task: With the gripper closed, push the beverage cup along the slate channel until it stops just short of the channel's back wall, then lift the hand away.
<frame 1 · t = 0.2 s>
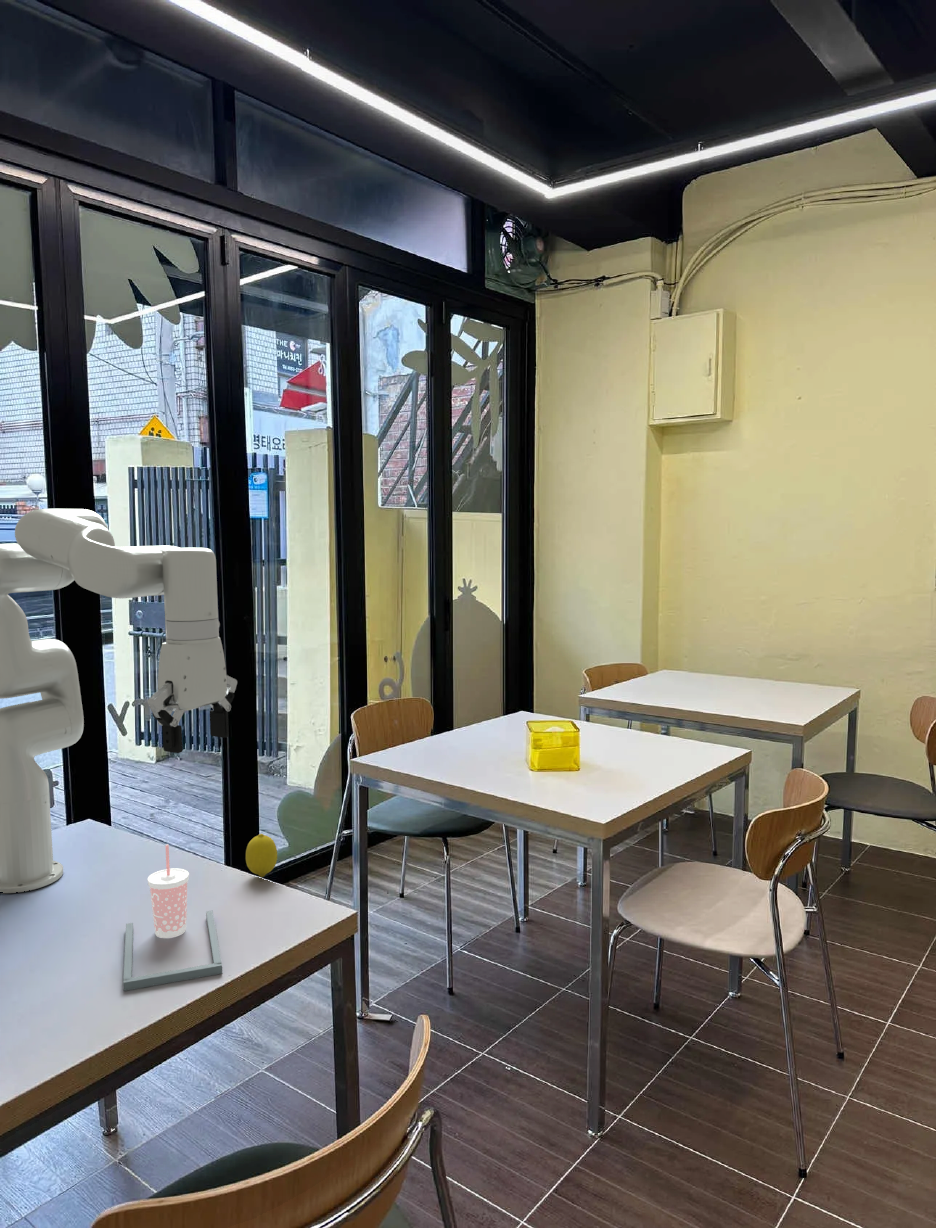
hand: (197, 743, 130), 30 cm above the table, tool pointing down, fingers open, 9 cm apart
slate channel: (172, 961, 126), on the table
lemon: (262, 877, 155), on the table
beverage cup: (170, 932, 135), on the table
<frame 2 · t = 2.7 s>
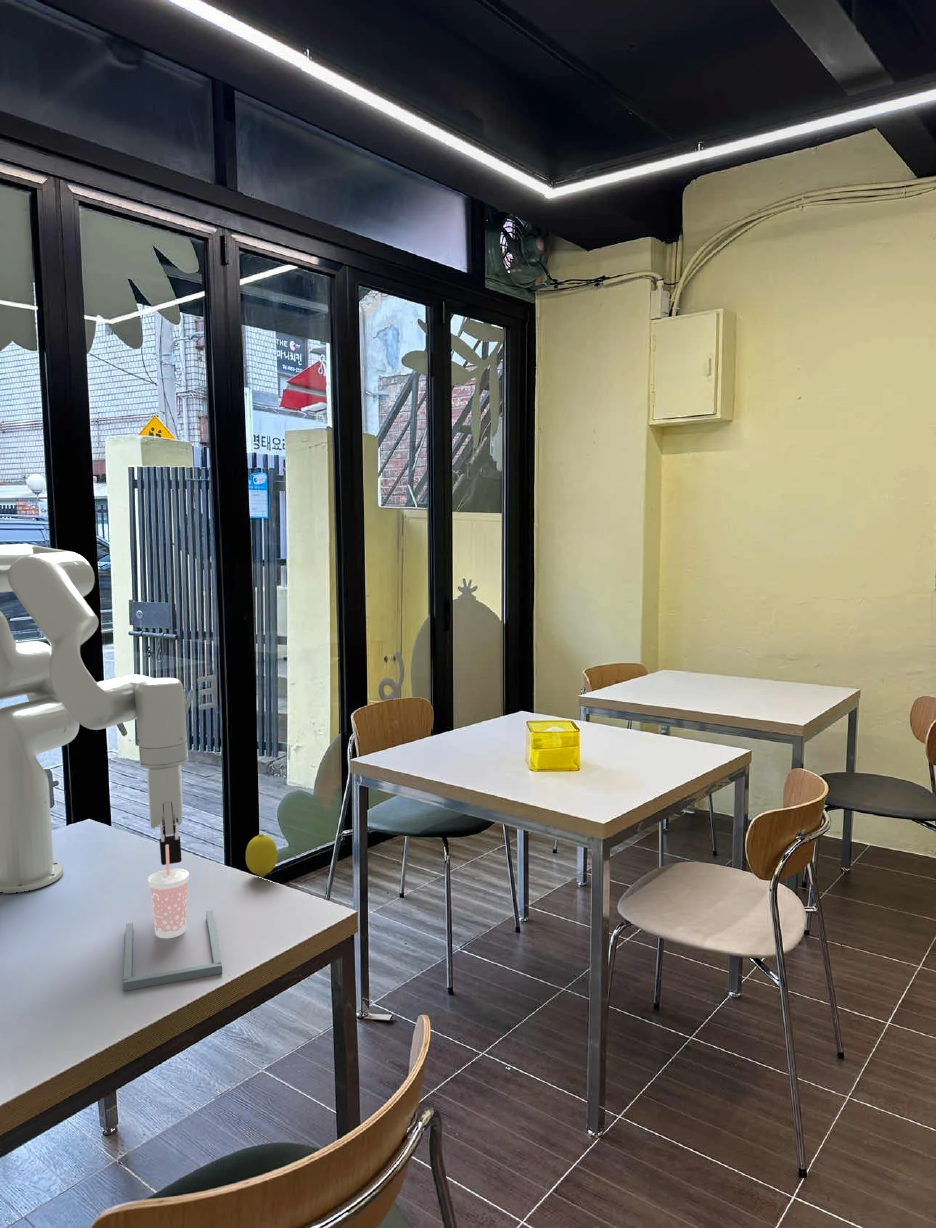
hand: (171, 861, 143), 8 cm above the table, tool pointing down, fingers closed
nothing on the table moved.
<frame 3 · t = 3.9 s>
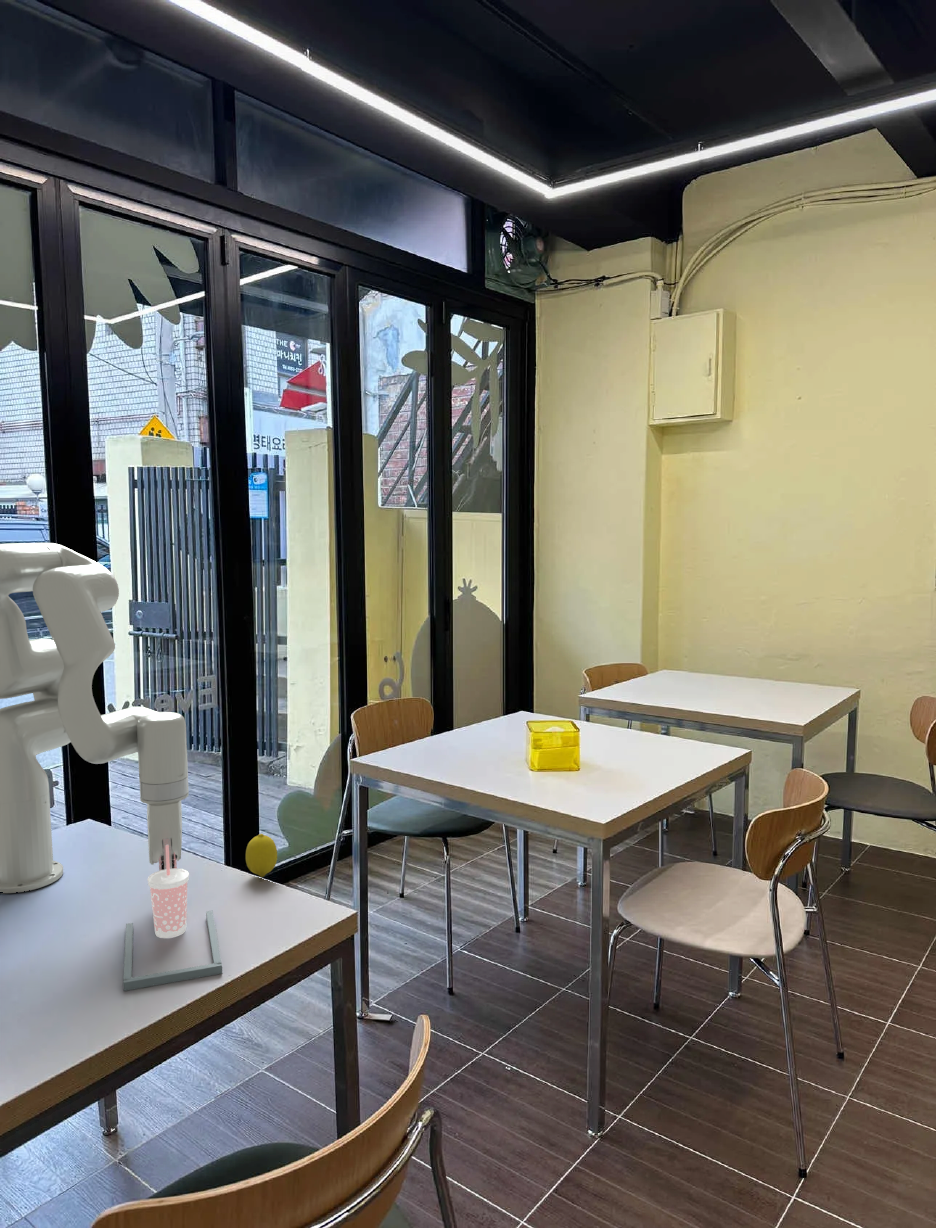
hand: (169, 895, 143), 2 cm above the table, tool pointing down, fingers closed
nothing on the table moved.
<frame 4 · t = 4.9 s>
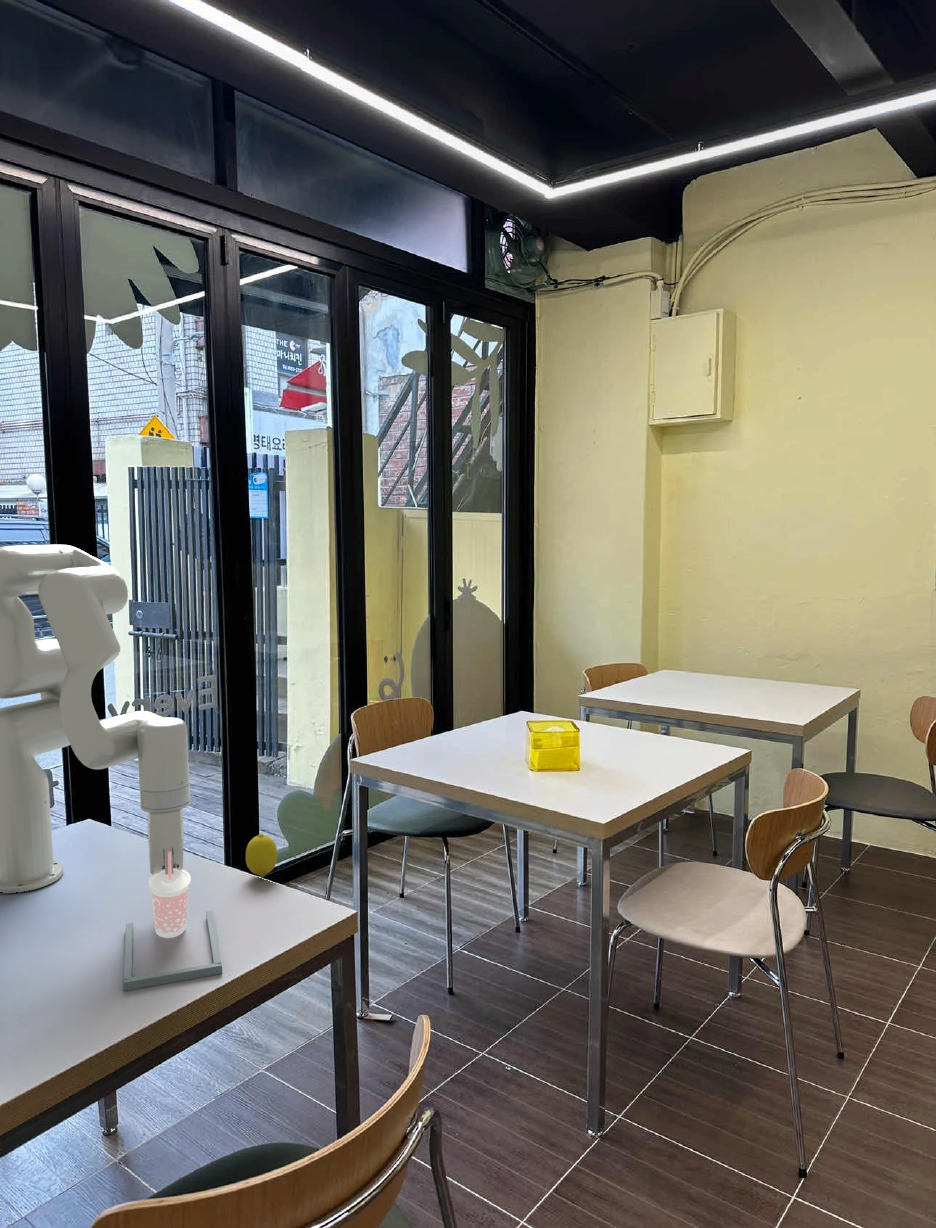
hand: (170, 906, 139), 2 cm above the table, tool pointing down, fingers closed
beverage cup: (170, 928, 135), on the table, touching gripper
everything else where it was.
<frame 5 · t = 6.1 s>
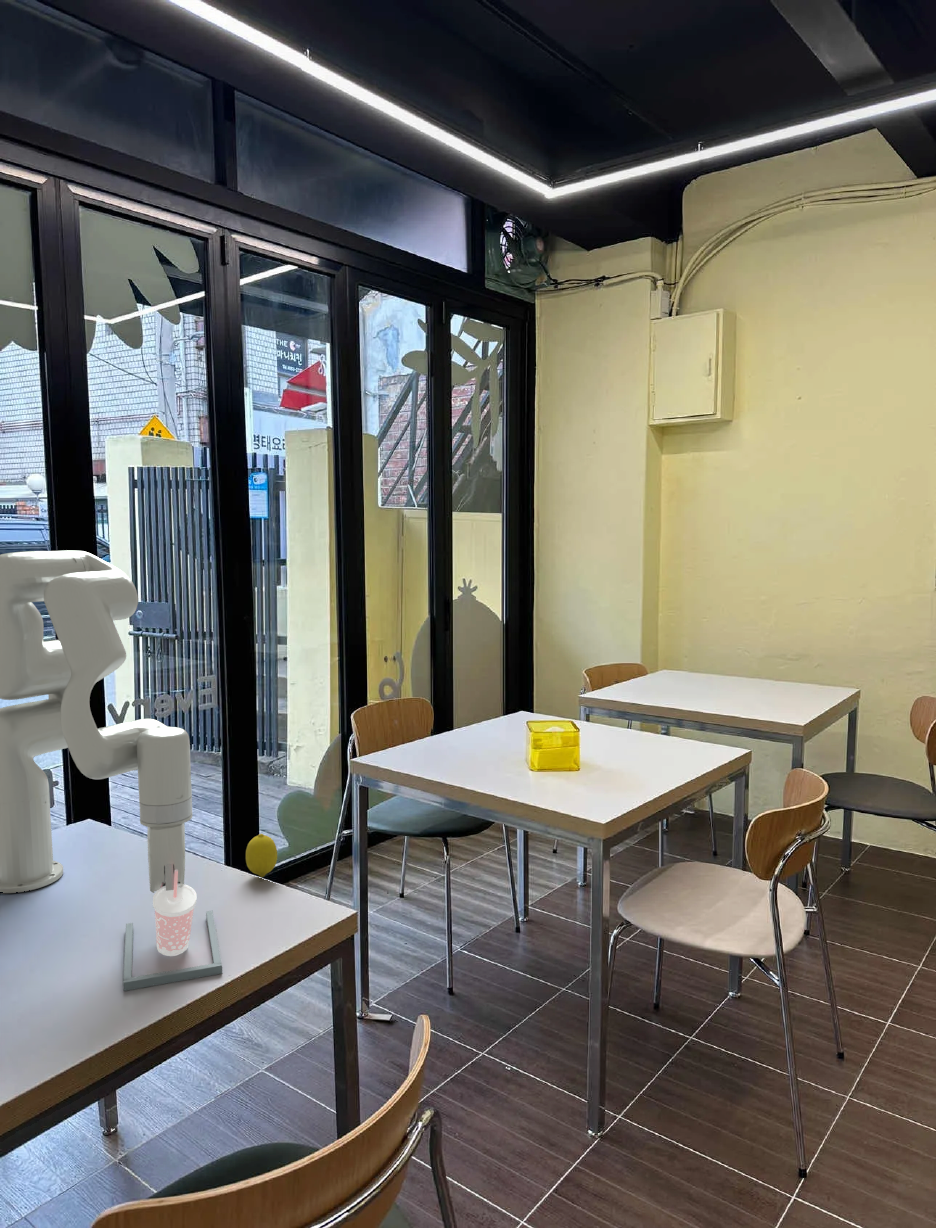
hand: (170, 925, 133), 2 cm above the table, tool pointing down, fingers closed
beverage cup: (172, 945, 129), point 1 cm above the table, touching gripper
everything else where it was.
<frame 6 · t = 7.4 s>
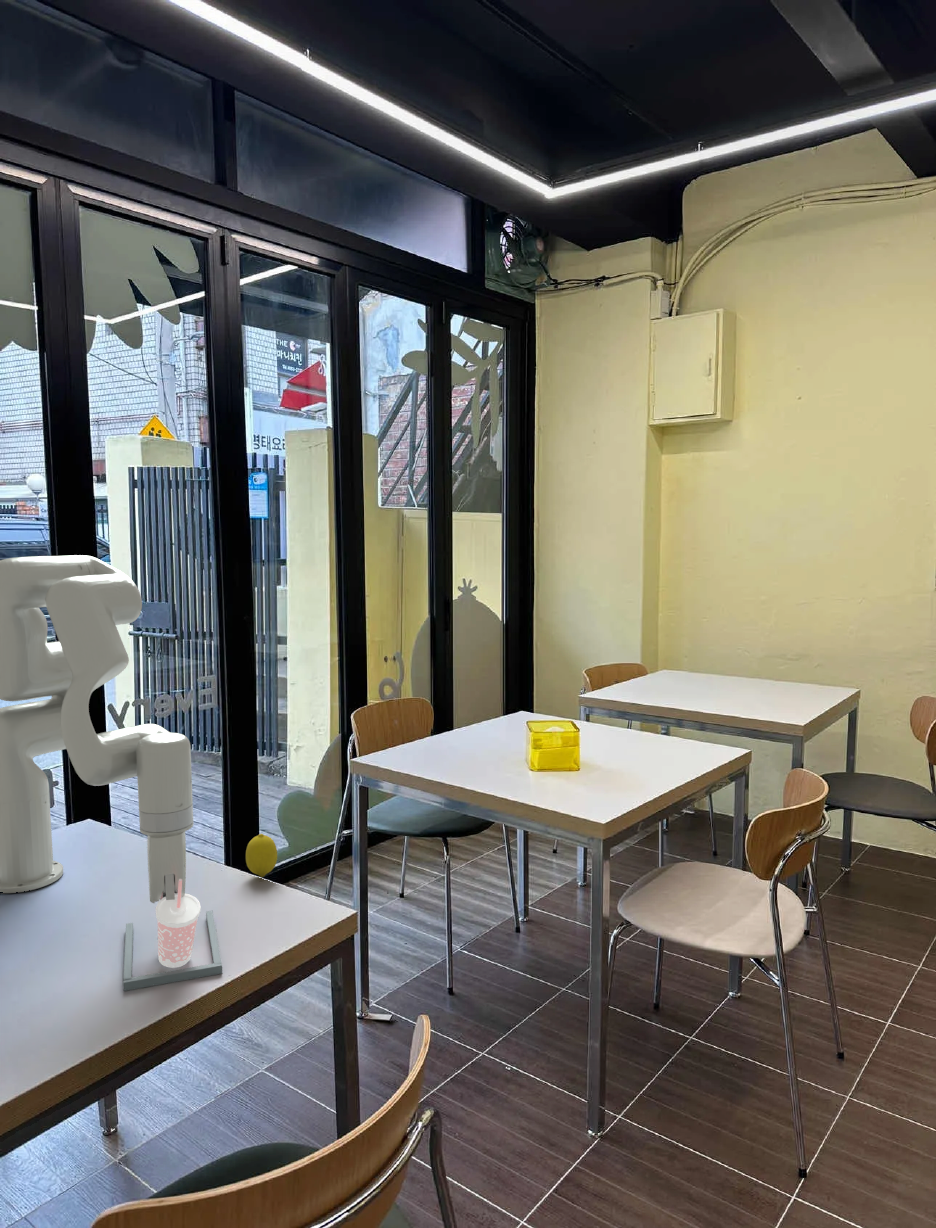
hand: (171, 936, 129), 2 cm above the table, tool pointing down, fingers closed
beverage cup: (174, 956, 126), point 1 cm above the table, touching gripper
everything else where it was.
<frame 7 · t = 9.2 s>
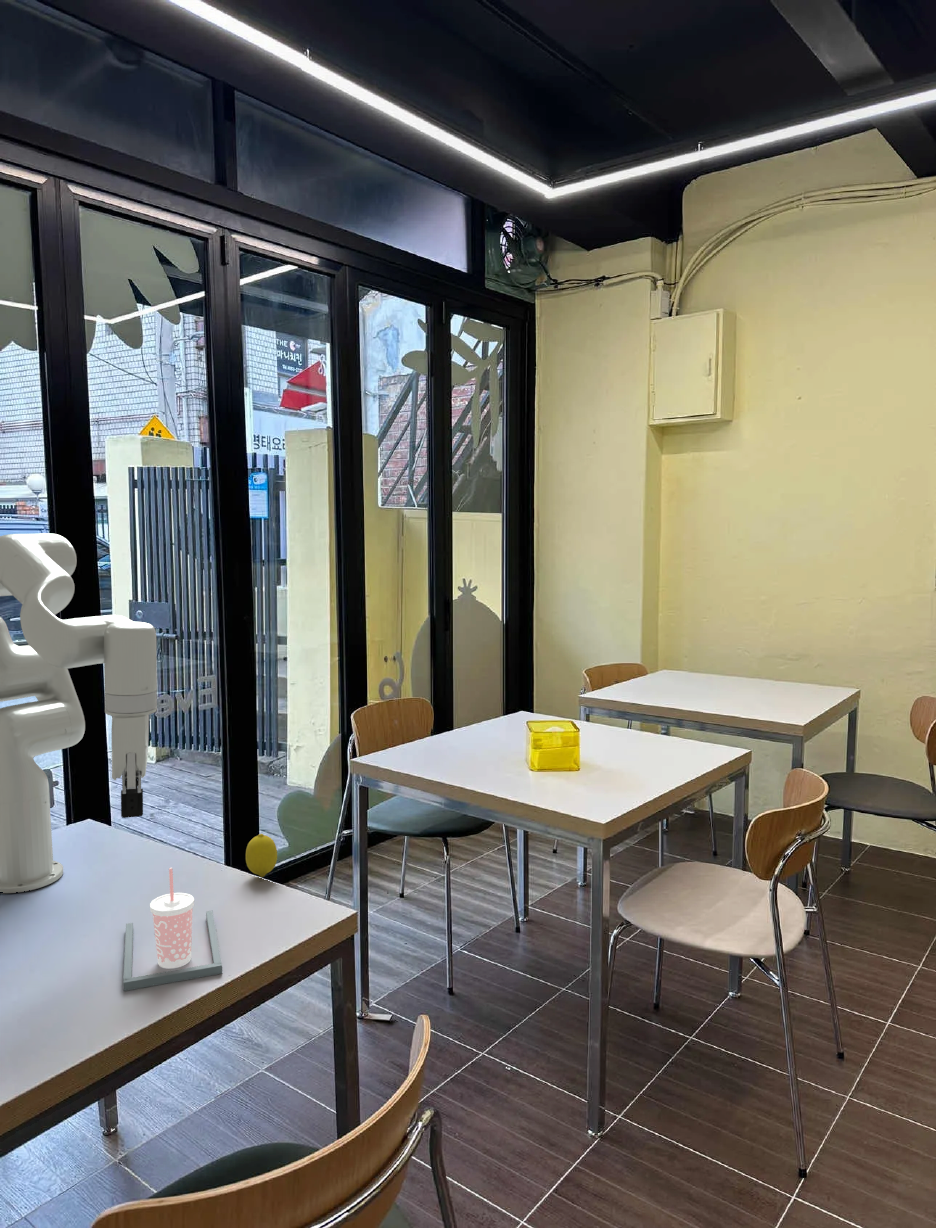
hand: (132, 815, 136), 18 cm above the table, tool pointing down, fingers closed
beverage cup: (174, 961, 126), on the table
everything else where it was.
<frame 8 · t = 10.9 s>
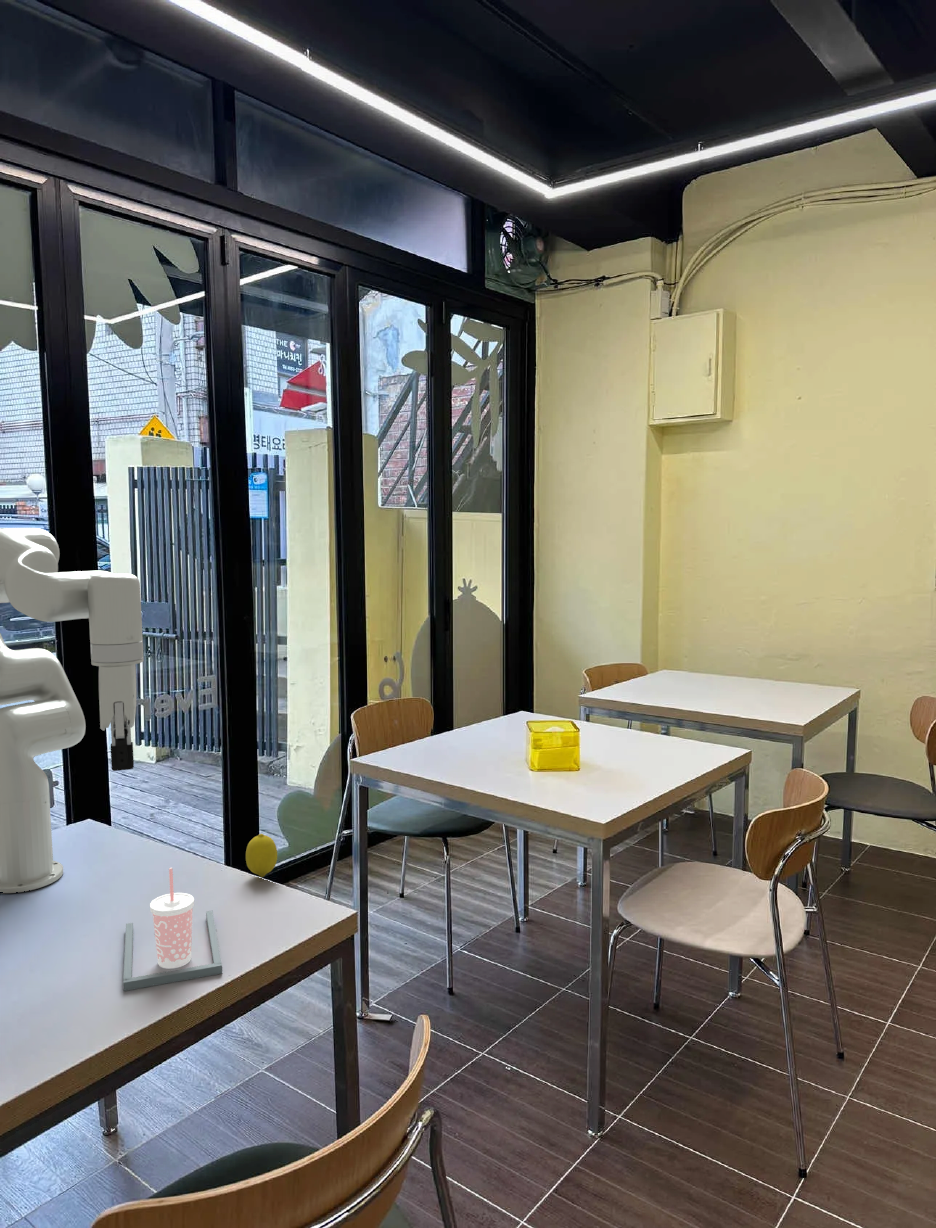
hand: (122, 768, 136), 25 cm above the table, tool pointing down, fingers closed
nothing on the table moved.
at the end: beverage cup inside the target area (1.1 cm from its centre), on the table; beverage cup tilted 0°; beverage cup moved 9.7 cm from its start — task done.
